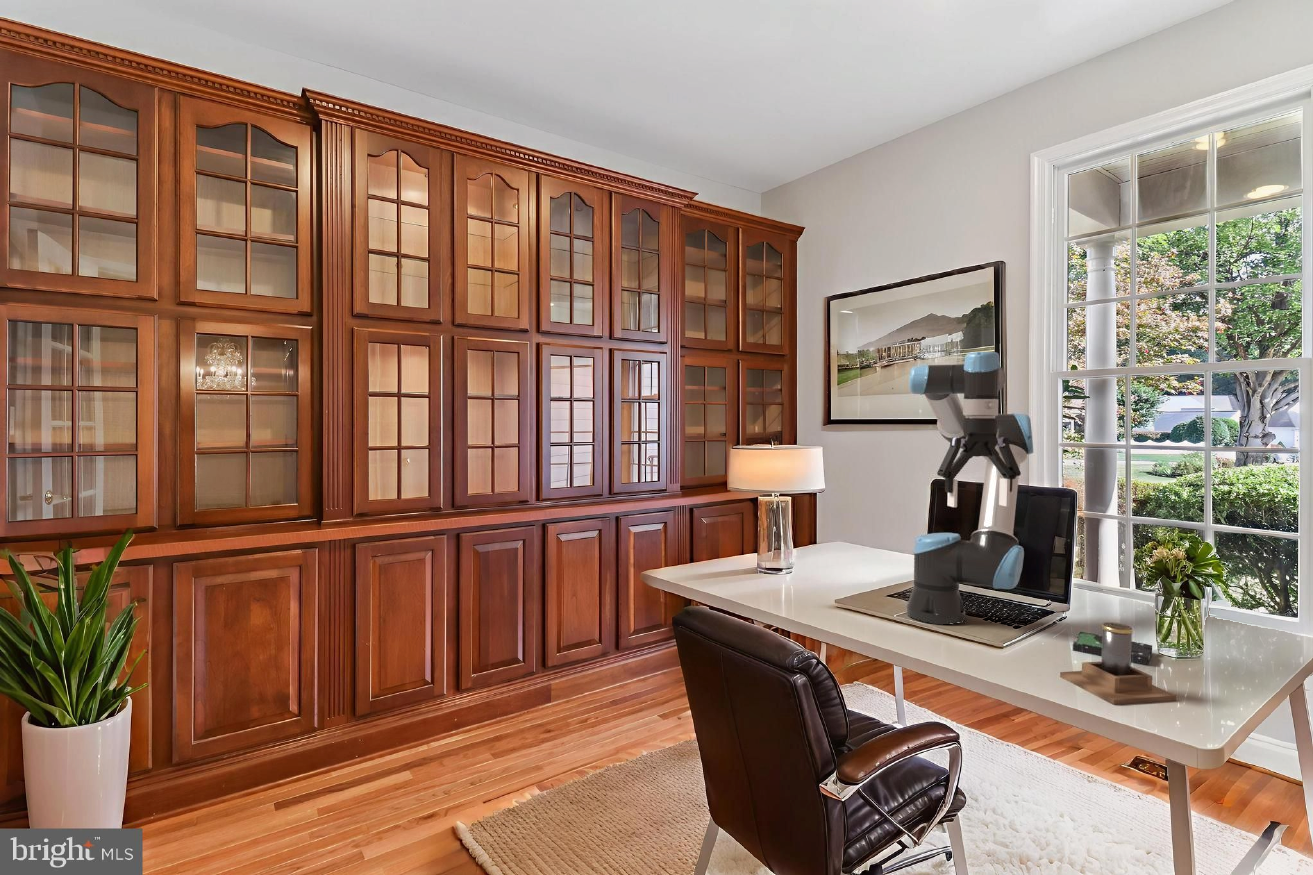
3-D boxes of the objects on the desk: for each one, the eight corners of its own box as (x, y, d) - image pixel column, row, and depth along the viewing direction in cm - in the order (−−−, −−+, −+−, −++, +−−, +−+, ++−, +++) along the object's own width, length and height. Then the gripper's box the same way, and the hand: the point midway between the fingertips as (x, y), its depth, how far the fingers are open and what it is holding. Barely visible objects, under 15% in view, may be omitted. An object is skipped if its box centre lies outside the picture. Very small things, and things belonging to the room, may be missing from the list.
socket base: (1060, 676, 145) (1060, 658, 145) (1117, 673, 147) (1117, 655, 147) (1113, 704, 131) (1114, 684, 131) (1175, 700, 133) (1176, 680, 133)
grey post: (1094, 678, 141) (1095, 622, 141) (1115, 677, 142) (1117, 621, 141) (1114, 689, 136) (1116, 630, 135) (1137, 687, 137) (1139, 629, 136)
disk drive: (1151, 656, 159) (1079, 641, 169) (1152, 644, 159) (1079, 630, 168) (1148, 668, 151) (1072, 652, 161) (1149, 656, 151) (1072, 640, 160)
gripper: (941, 417, 153) (939, 509, 154) (1038, 417, 157) (1036, 507, 158) (923, 417, 161) (921, 504, 162) (1017, 417, 165) (1014, 503, 165)
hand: (978, 506), depth 160 cm, fingers open, 13 cm apart
